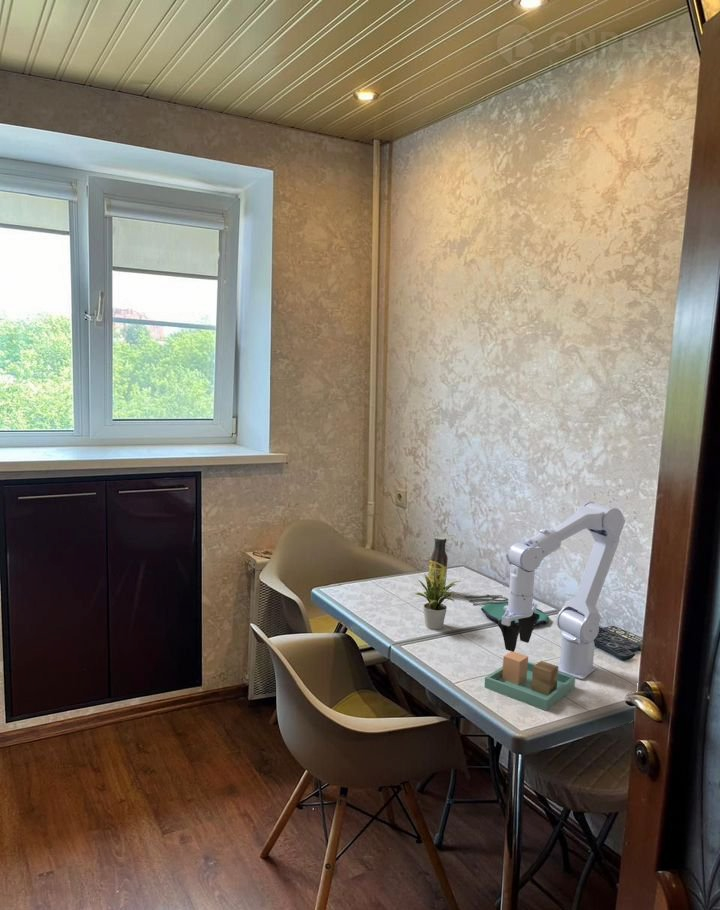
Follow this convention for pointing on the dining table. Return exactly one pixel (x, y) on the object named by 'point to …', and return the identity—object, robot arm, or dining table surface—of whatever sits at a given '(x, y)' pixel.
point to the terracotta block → (515, 668)
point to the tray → (529, 688)
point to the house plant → (435, 602)
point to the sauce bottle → (438, 561)
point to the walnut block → (544, 678)
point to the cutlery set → (501, 608)
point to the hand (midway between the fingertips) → (517, 645)
